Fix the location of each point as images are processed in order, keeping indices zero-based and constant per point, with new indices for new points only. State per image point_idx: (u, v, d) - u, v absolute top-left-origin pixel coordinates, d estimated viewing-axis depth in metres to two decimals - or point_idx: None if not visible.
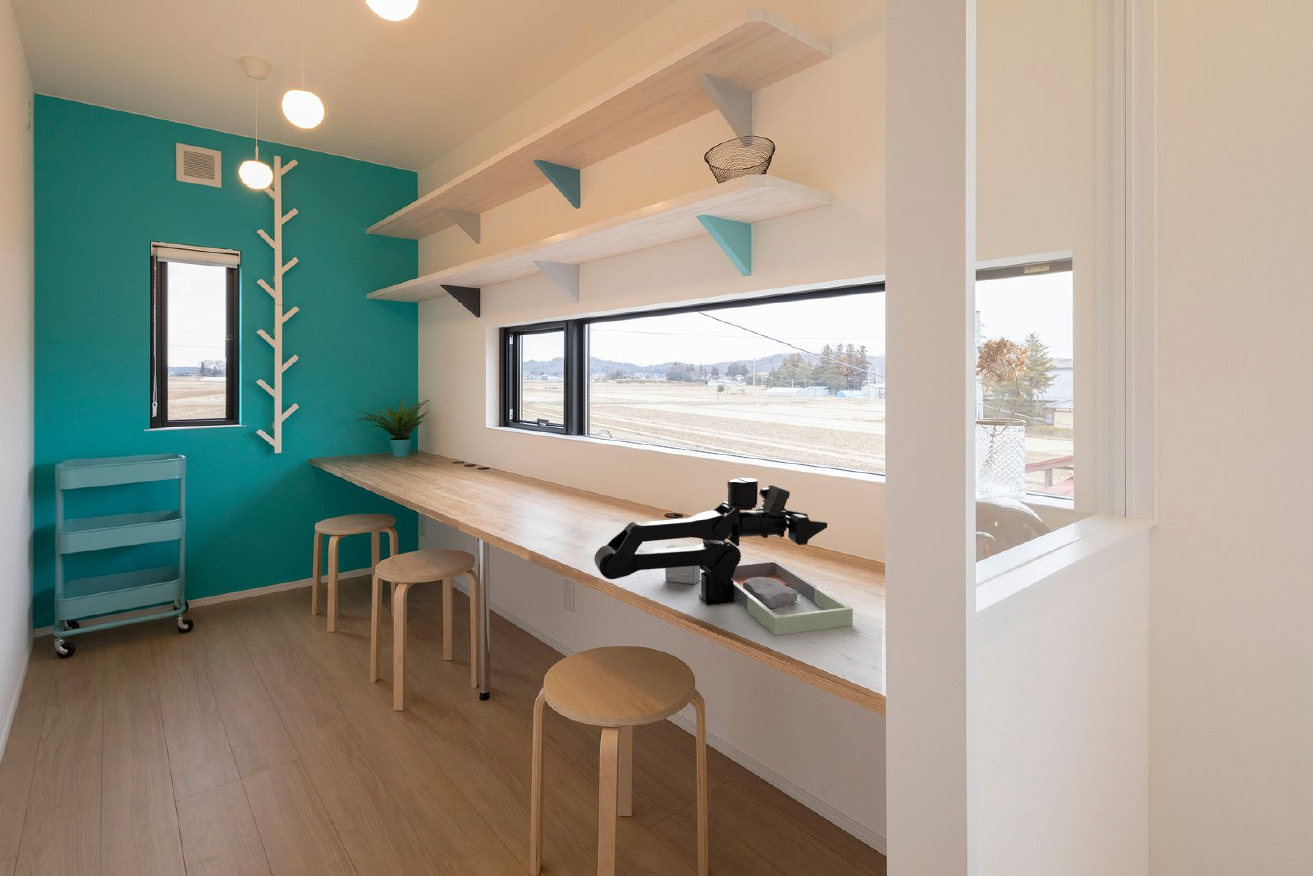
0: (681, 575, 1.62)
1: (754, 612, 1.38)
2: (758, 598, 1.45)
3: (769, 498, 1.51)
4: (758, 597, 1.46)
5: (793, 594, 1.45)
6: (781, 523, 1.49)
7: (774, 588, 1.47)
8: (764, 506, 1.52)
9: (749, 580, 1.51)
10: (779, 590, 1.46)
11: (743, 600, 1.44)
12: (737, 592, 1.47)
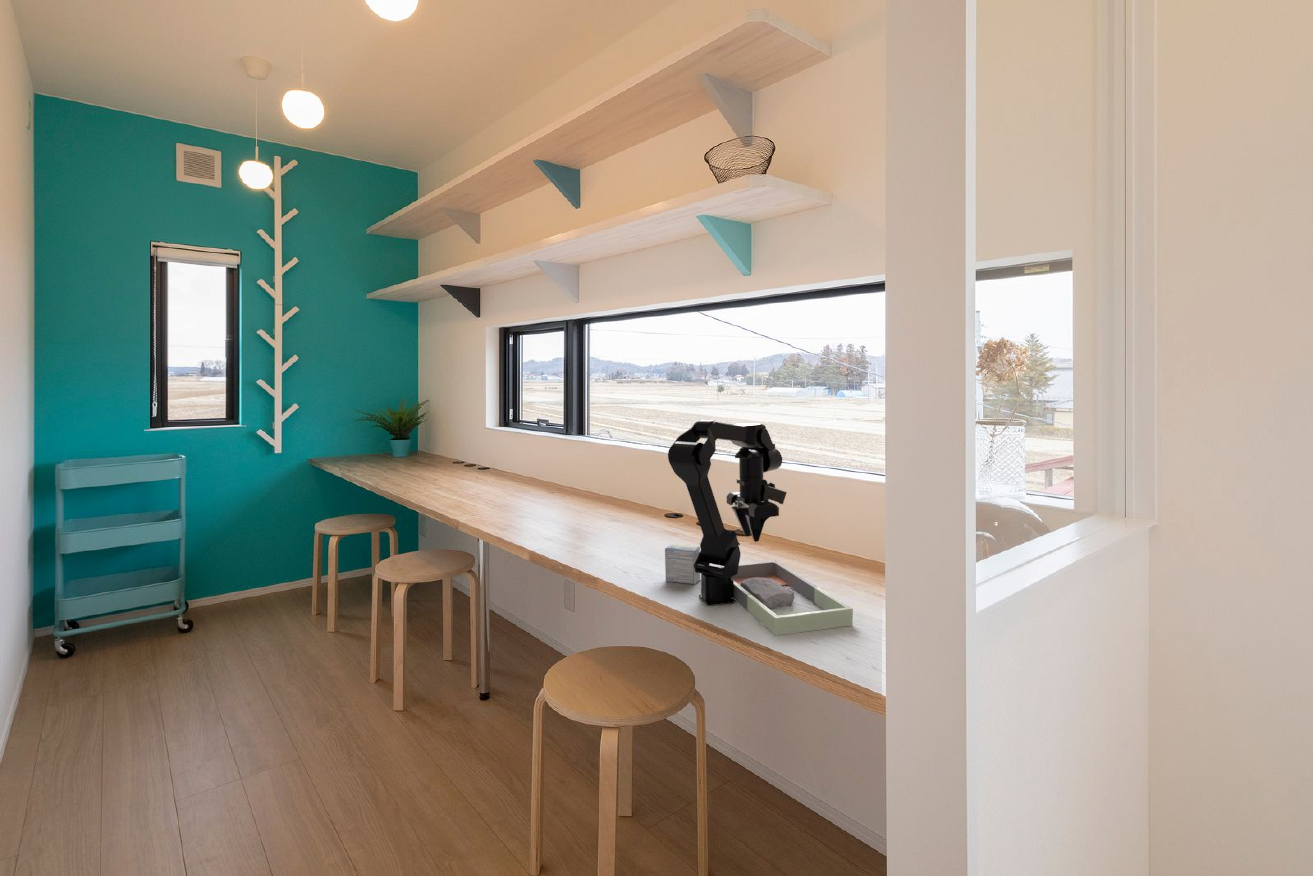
0: (681, 575, 1.62)
1: (754, 612, 1.38)
2: None
3: (772, 487, 1.61)
4: None
5: (790, 594, 1.45)
6: (757, 498, 1.57)
7: (771, 588, 1.47)
8: None
9: (746, 580, 1.51)
10: (776, 590, 1.45)
11: (743, 600, 1.44)
12: (737, 592, 1.47)
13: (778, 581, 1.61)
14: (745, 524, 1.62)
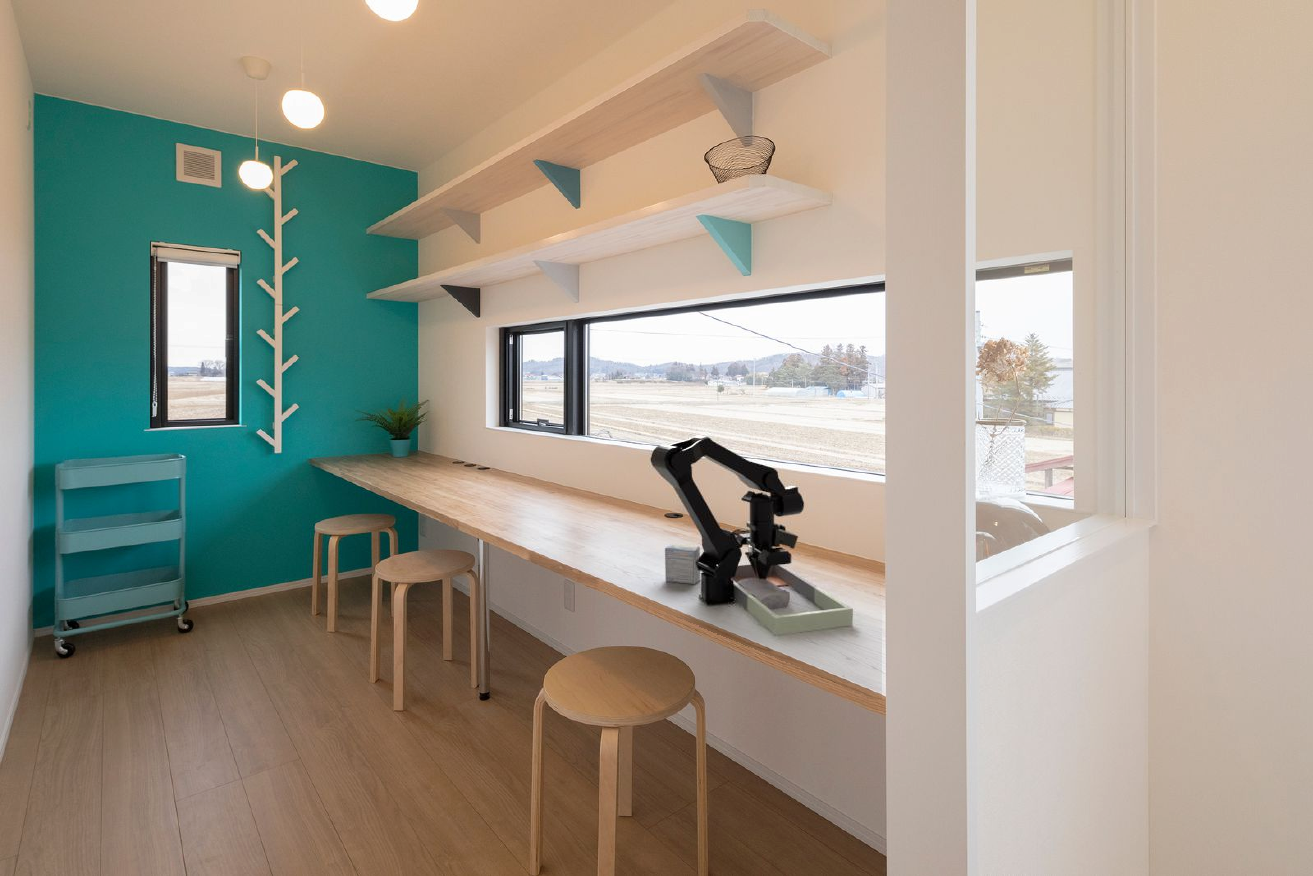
0: (681, 575, 1.62)
1: (754, 612, 1.38)
2: None
3: (783, 530, 1.56)
4: None
5: (786, 595, 1.44)
6: (768, 543, 1.52)
7: (767, 589, 1.46)
8: None
9: (742, 581, 1.50)
10: (771, 591, 1.44)
11: (743, 600, 1.44)
12: (737, 592, 1.47)
13: (778, 581, 1.61)
14: None
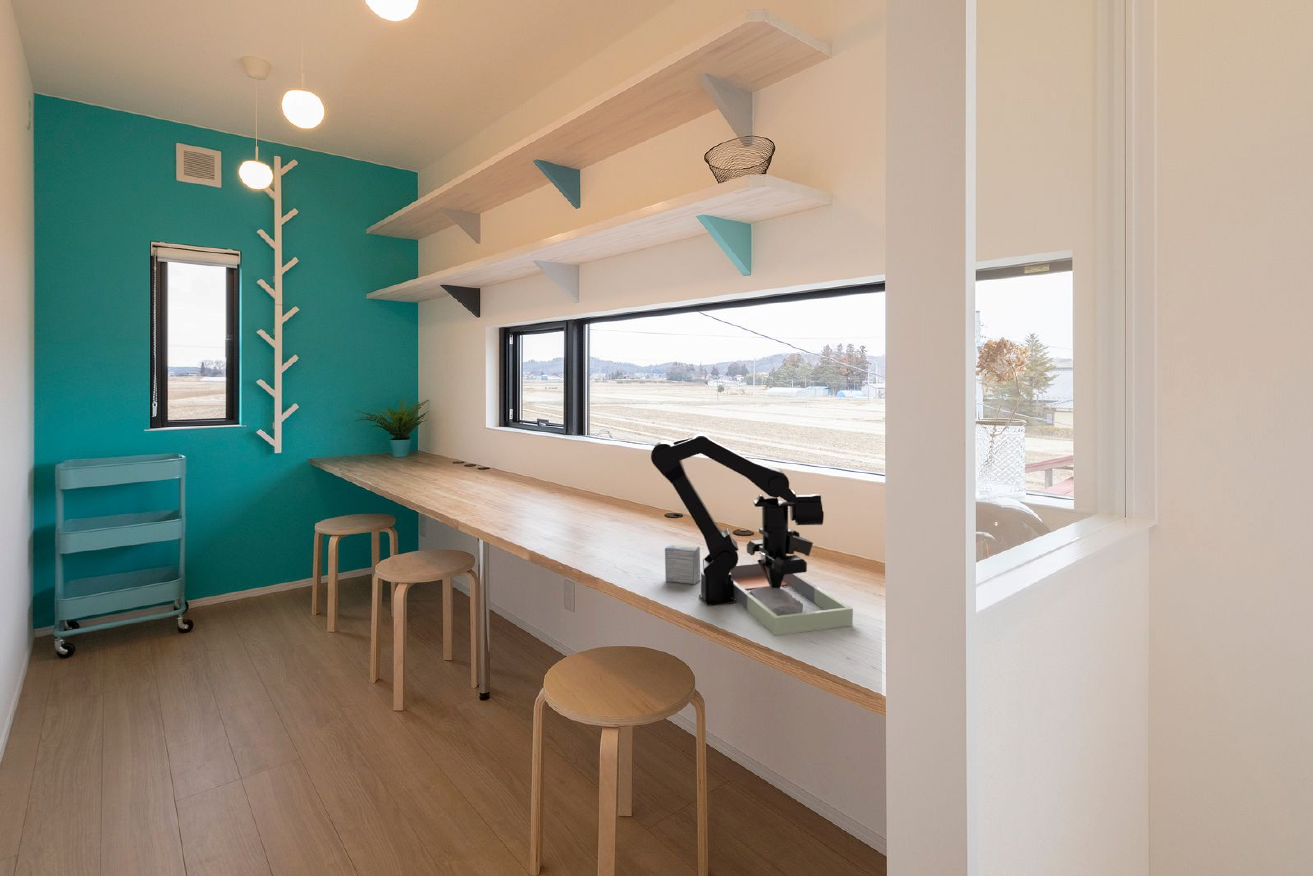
0: (681, 575, 1.62)
1: (754, 612, 1.38)
2: None
3: (797, 537, 1.49)
4: None
5: (797, 607, 1.37)
6: (782, 550, 1.45)
7: (778, 599, 1.40)
8: None
9: (754, 590, 1.44)
10: (783, 602, 1.38)
11: (743, 600, 1.44)
12: (737, 592, 1.47)
13: None
14: None
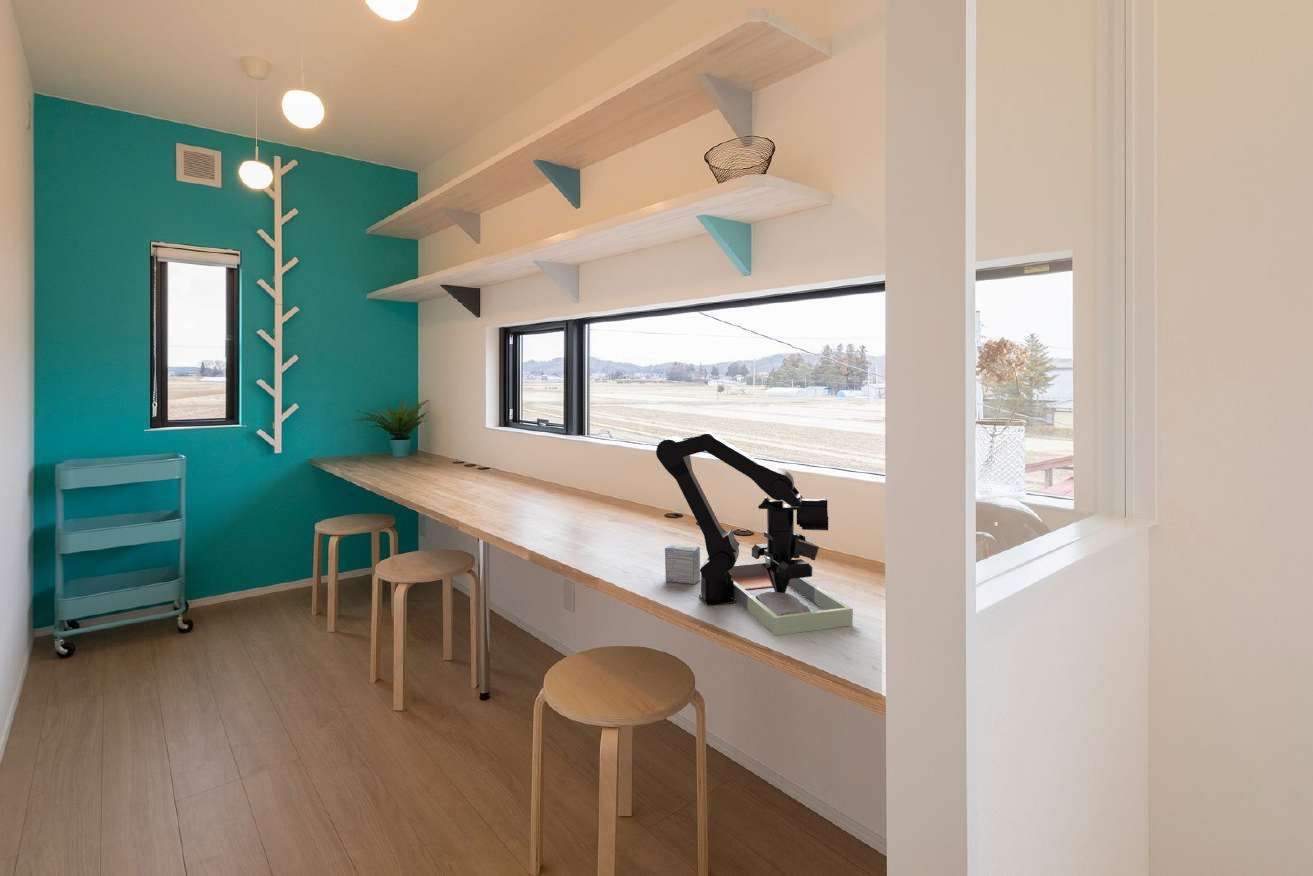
0: (681, 575, 1.62)
1: (754, 612, 1.38)
2: None
3: (803, 541, 1.46)
4: None
5: None
6: (787, 554, 1.42)
7: (785, 605, 1.37)
8: None
9: (761, 594, 1.41)
10: (789, 607, 1.35)
11: (743, 600, 1.44)
12: (737, 592, 1.47)
13: None
14: None
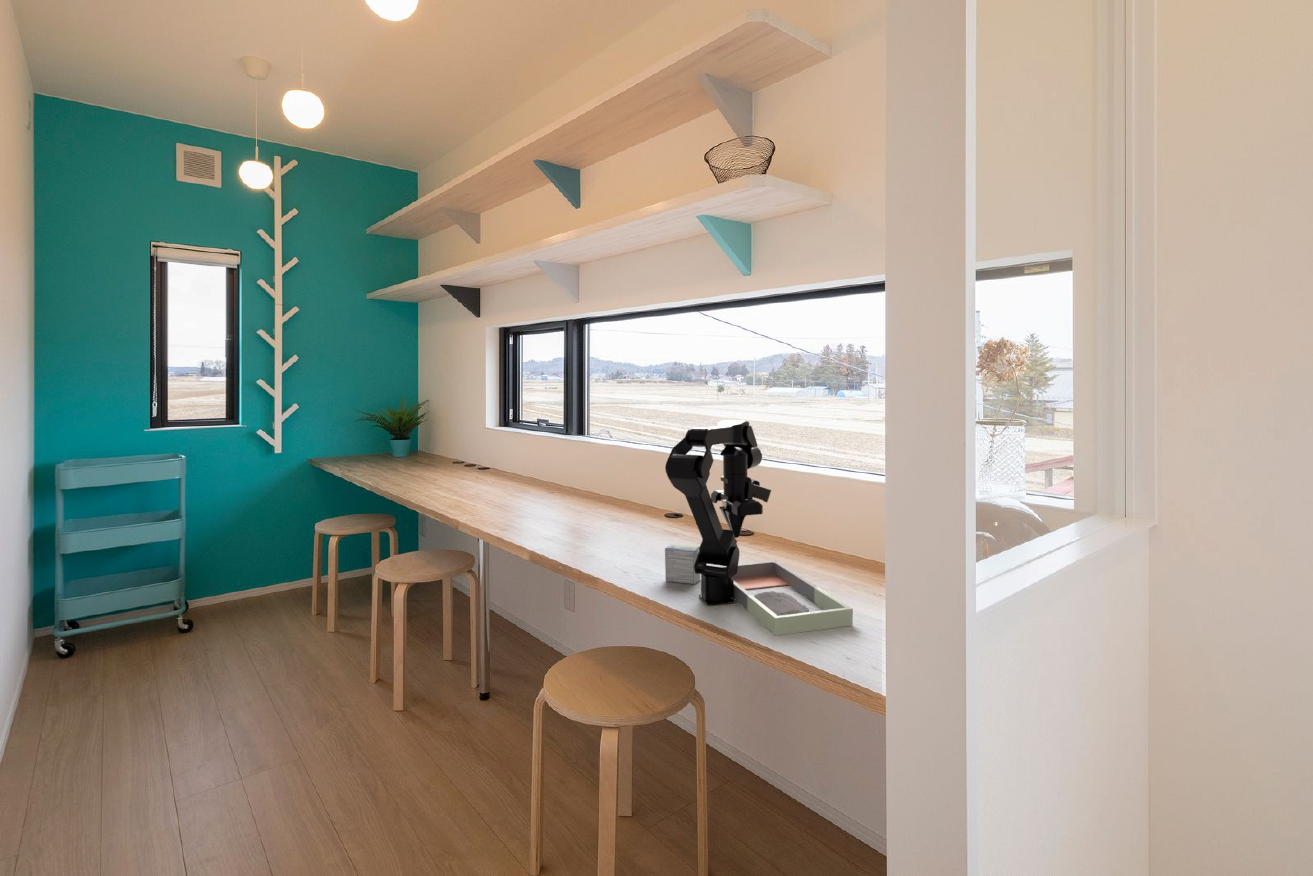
0: (681, 575, 1.62)
1: (754, 612, 1.38)
2: None
3: (756, 485, 1.58)
4: None
5: (804, 612, 1.34)
6: (741, 495, 1.54)
7: (784, 604, 1.37)
8: None
9: (759, 595, 1.41)
10: (789, 607, 1.35)
11: (743, 600, 1.44)
12: (737, 592, 1.47)
13: (778, 581, 1.61)
14: None
